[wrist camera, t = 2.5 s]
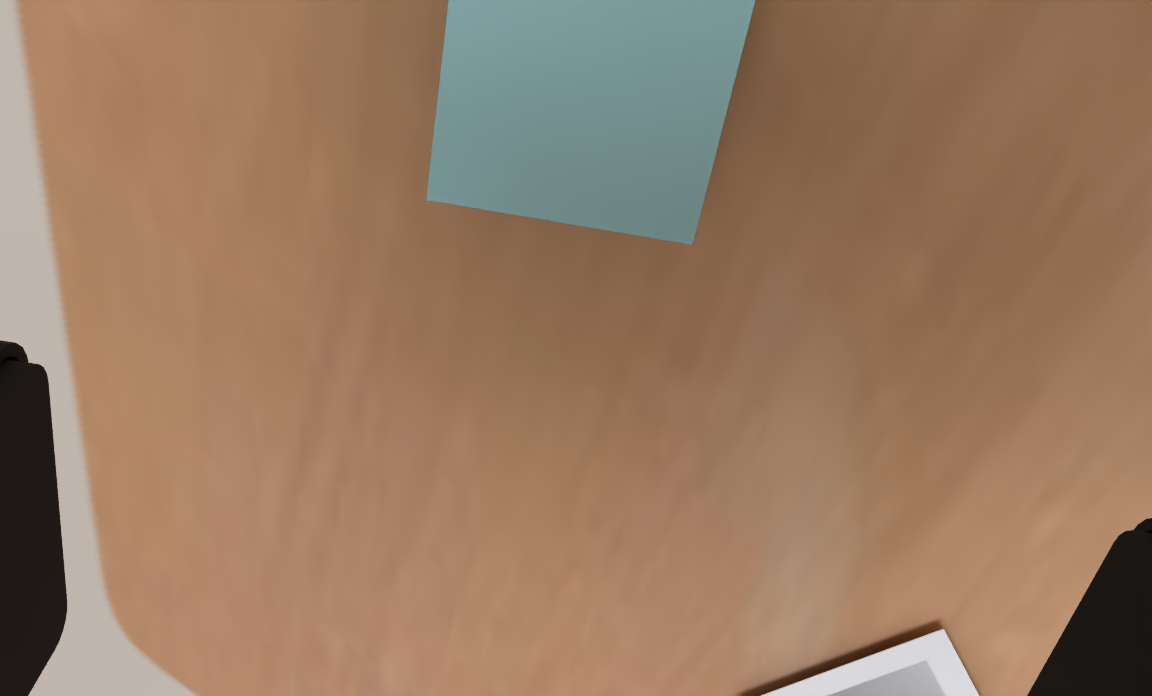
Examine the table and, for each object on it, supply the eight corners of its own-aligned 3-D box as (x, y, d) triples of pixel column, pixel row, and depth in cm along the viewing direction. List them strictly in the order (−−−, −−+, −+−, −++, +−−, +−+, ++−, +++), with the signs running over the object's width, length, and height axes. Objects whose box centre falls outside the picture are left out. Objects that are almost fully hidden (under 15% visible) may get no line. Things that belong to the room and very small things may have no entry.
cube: (728, -78, 26) (763, -31, 21) (673, 153, 29) (692, 244, 24) (485, -125, 25) (458, -89, 20) (455, 114, 28) (426, 199, 23)
